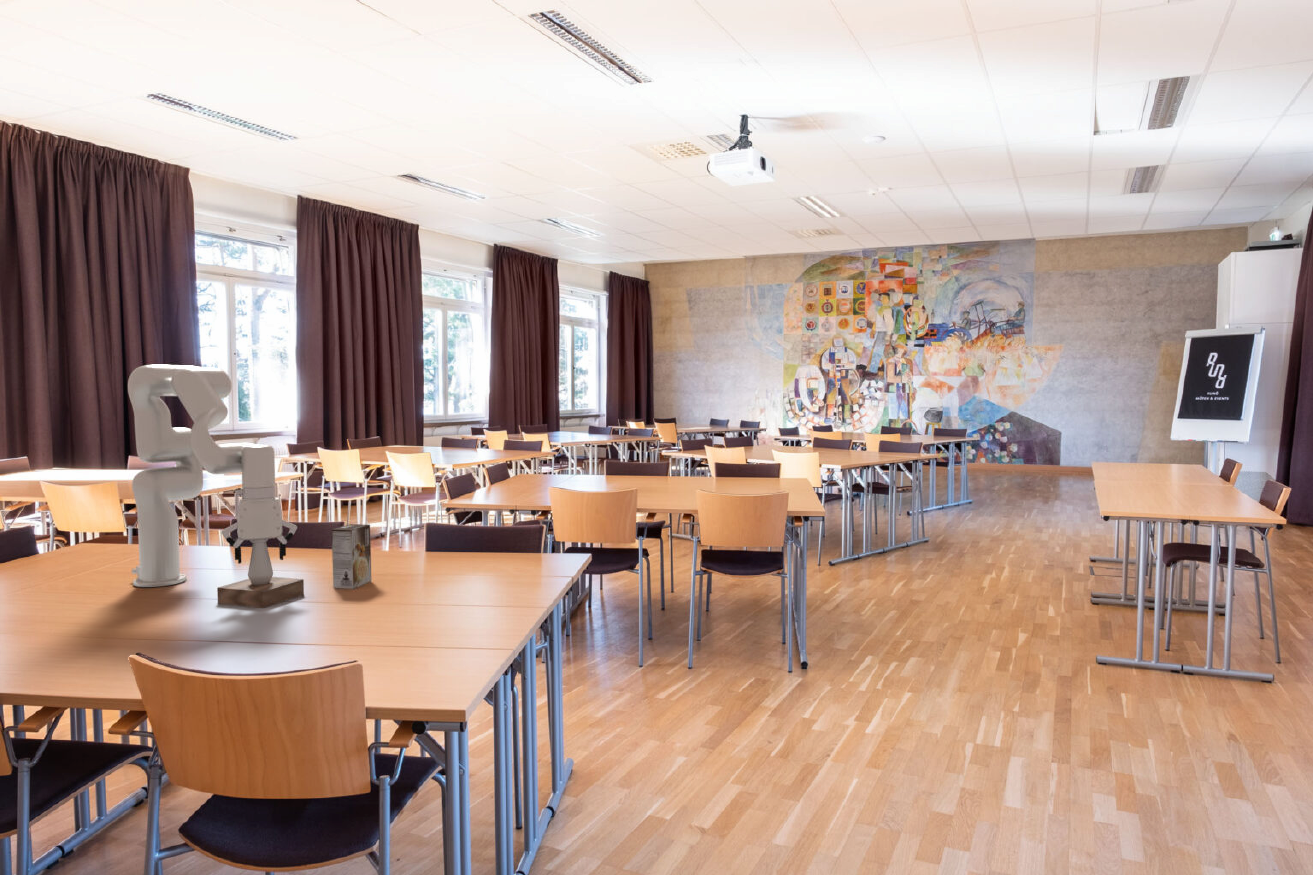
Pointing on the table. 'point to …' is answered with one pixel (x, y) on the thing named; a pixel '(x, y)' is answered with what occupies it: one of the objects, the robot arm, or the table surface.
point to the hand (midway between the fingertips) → (260, 560)
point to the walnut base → (260, 592)
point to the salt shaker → (260, 563)
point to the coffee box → (351, 556)
